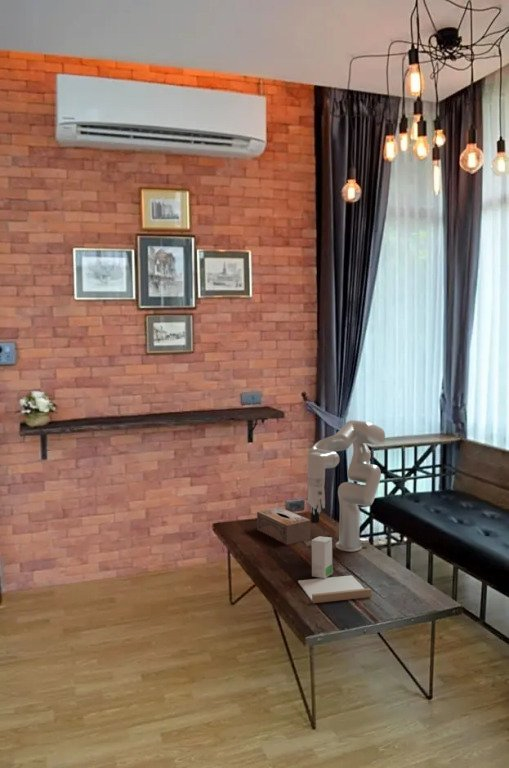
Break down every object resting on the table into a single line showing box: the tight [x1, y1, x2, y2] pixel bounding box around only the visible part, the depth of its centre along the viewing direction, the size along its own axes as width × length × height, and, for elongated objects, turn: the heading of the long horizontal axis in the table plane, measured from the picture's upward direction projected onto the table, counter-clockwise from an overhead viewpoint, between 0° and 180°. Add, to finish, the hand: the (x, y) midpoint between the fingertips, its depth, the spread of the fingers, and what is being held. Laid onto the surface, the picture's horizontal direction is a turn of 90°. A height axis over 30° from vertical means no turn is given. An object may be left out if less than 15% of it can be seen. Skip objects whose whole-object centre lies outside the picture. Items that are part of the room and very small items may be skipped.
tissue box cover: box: [256, 506, 311, 546], centre depth 306 cm, size 26×14×10 cm, turn 34°
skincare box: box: [311, 535, 333, 579], centre depth 256 cm, size 8×7×16 cm
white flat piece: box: [297, 575, 372, 604], centre depth 243 cm, size 24×19×3 cm
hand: (314, 522), depth 262 cm, fingers closed
